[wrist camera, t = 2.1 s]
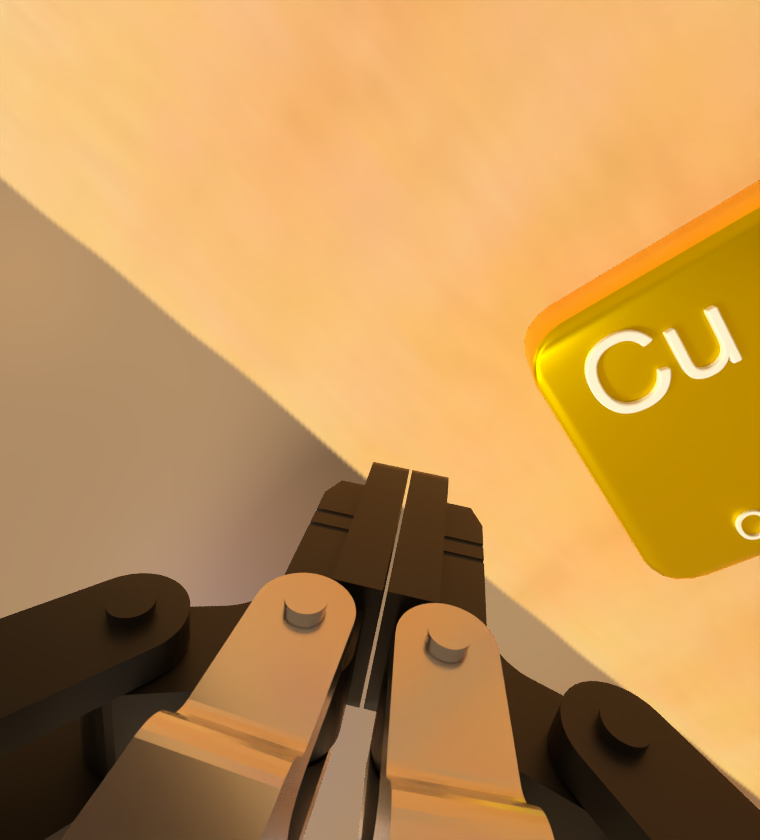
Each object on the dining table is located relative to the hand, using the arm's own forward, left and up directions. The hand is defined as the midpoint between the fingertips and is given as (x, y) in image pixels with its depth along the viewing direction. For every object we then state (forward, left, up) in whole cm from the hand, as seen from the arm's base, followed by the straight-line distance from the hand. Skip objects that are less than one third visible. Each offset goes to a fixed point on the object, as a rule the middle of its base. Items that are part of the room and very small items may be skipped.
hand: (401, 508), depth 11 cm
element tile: (-14, 0, -19) cm, 23 cm away
